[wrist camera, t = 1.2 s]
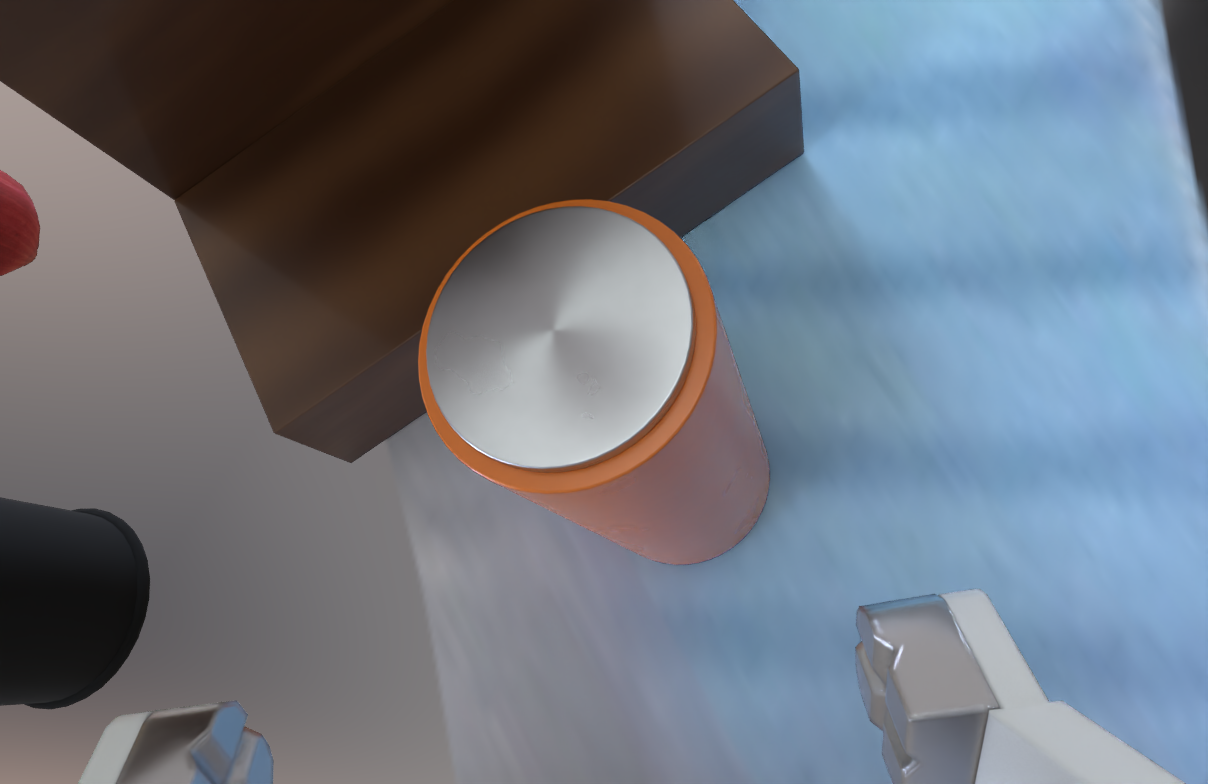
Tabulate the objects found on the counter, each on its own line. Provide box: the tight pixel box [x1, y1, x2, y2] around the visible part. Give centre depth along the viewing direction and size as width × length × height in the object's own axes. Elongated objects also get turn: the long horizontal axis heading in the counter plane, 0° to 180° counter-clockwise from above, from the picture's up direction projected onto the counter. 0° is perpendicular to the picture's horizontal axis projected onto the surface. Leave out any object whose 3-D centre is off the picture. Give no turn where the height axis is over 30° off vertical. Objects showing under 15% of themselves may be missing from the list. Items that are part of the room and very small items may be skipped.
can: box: [418, 199, 770, 565], centre depth 23 cm, size 6×6×14 cm
